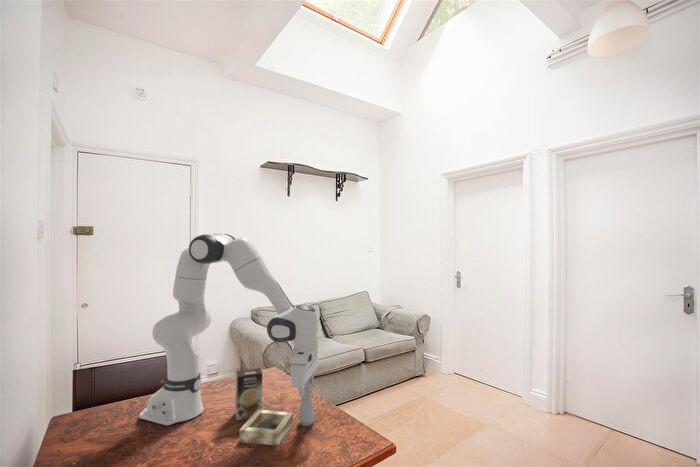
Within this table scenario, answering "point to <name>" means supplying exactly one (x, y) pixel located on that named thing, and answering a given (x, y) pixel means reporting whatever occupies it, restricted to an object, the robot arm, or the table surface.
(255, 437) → the socket block
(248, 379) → the coffee box
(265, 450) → the table surface
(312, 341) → the robot arm
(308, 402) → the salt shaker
